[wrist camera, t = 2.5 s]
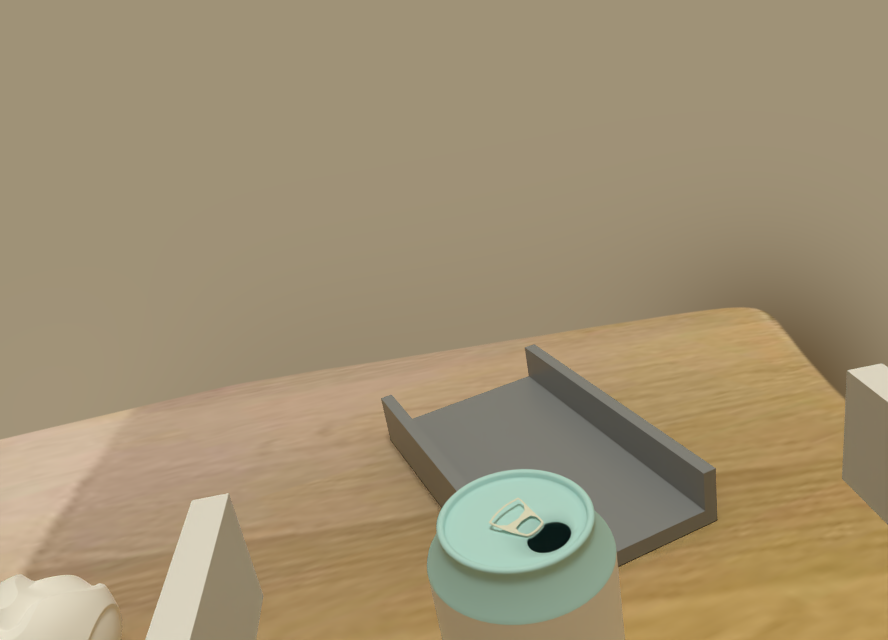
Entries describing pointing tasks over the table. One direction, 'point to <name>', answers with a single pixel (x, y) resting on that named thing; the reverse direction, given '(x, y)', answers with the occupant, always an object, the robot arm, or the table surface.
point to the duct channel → (564, 452)
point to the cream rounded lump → (57, 610)
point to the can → (524, 562)
